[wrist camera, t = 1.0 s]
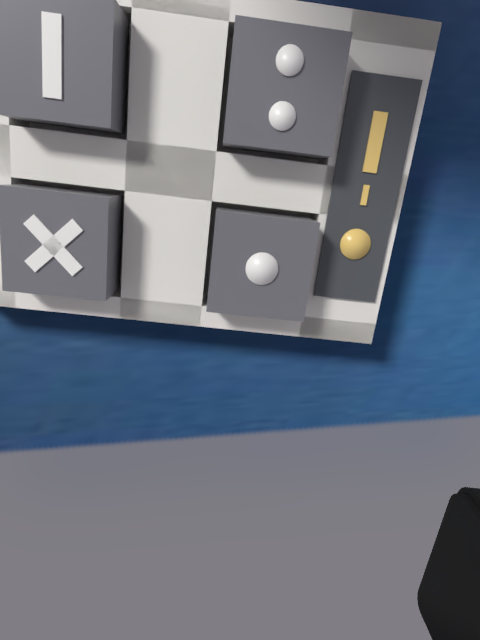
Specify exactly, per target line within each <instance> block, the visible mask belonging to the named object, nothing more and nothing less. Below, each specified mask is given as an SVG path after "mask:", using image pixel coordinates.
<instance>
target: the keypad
mask: <svg viewBox="0 0 480 640" xmlns="http://www.w3.org/2000/svg"><path fill="white" fill-rule="evenodd" d="M116 1H117V2H118V4H119V6H120V7H121V9H122V10H123V12H124V14H125V15H126V17H127V18H128V20H129V44H128V71H127V98H126V125H125V134H118V133H110V132H102V131H95V130H87V129H79V128H71V127H63V126H55V125H48V124H40V123H32V122H24V121H20V120H17V119H13V118H10V117H6V116H2V115H0V185H6V184H32V185H40V186H48V187H57V188H65V189H74V190H82V191H91V192H99V193H107V194H116V195H123V207H122V234H121V261H120V287H119V288H118V289H117V290H116V291H115V292H114V293H113V294H112V295H111V297H110V298H109V299H108V300H107V301H97V300H88V299H78V298H68V297H59V296H49V295H39V294H30V293H20V292H10V291H3V290H2V267H1V245H0V306H2V307H12V308H22V309H32V310H41V311H51V312H61V313H71V314H81V315H91V316H101V317H110V318H120V319H130V320H140V321H150V322H160V323H170V324H179V325H189V326H199V327H209V328H219V329H229V330H239V331H248V332H258V333H268V334H278V335H288V336H298V337H308V338H317V339H327V340H337V341H347V342H357V343H367V344H371V343H372V339H373V334H374V330H375V325H376V321H377V316H378V312H379V307H380V302H381V298H382V293H383V289H384V284H385V280H386V275H387V271H388V266H389V262H390V257H391V252H392V248H393V243H394V239H395V234H396V230H397V225H398V221H399V216H400V212H401V207H402V202H403V198H404V193H405V189H406V184H407V180H408V175H409V171H410V166H411V162H412V157H413V153H414V148H415V143H416V139H417V134H418V130H419V125H420V121H421V116H422V112H423V107H424V103H425V98H426V93H427V89H428V84H429V80H430V75H431V71H432V66H433V62H434V57H435V53H436V48H437V43H438V39H439V34H440V30H441V25H442V22H437V21H431V20H424V19H417V18H411V17H404V16H397V15H391V14H384V13H377V12H371V11H364V10H357V9H351V8H344V7H337V6H331V5H324V4H317V3H311V2H304V1H297V0H116ZM235 15H241V16H247V17H254V18H261V19H268V20H275V21H282V22H288V23H295V24H302V25H309V26H316V27H322V28H329V29H336V30H343V31H350V32H353V33H352V38H351V44H350V50H349V56H348V62H347V68H346V74H345V80H344V86H343V92H342V98H341V104H340V110H339V116H338V122H337V127H336V133H335V139H334V145H333V151H332V157H327V158H321V159H314V158H307V157H299V156H291V155H283V154H275V153H267V152H260V151H252V150H244V149H236V148H228V147H223V136H224V126H225V115H226V105H227V95H228V85H229V75H230V65H231V55H232V44H233V34H234V24H235ZM217 207H225V208H234V209H242V210H251V211H259V212H267V213H276V214H284V215H293V216H301V217H309V218H311V219H313V220H315V221H318V222H320V228H319V234H318V240H317V246H316V252H315V258H314V264H313V270H312V276H311V282H310V288H309V294H308V299H307V305H306V311H305V317H304V322H300V321H290V320H281V319H271V318H261V317H252V316H242V315H232V314H223V313H213V312H206V308H207V298H208V288H209V278H210V268H211V258H212V247H213V237H214V227H215V217H216V209H217Z"/></svg>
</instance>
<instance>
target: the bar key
mask: <svg viewBox="0 0 480 640" xmlns="http://www.w3.org/2000/svg"><path fill="white" fill-rule="evenodd" d="M128 44H129V20H128V18H127V17H126V15H125V14H124V12H123V10H122V9H121V7H120V6H119V4H118V2H117V1H116V0H0V115H2V116H6V117H10V118H13V119H17V120H20V121H24V122H32V123H40V124H48V125H55V126H63V127H71V128H79V129H87V130H95V131H102V132H110V133H118V134H125V125H126V98H127V71H128Z"/></svg>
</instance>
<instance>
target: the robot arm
mask: <svg viewBox="0 0 480 640" xmlns="http://www.w3.org/2000/svg"><path fill="white" fill-rule="evenodd" d="M418 606H419V610H420V612H421V615H422V617H423V619H424V622H425V624H426V626H427V628H428V630H429V633H430V635H431V637H432V639H433V640H480V489H478V488H468V487H464V488H461V489H460V490H459V492H458V493H457V494H453V495H452V496H451V498H450V500H449V503H448V506H447V509H446V512H445V514H444V518H443V520H442V523H441V526H440V529H439V532H438V535H437V538H436V541H435V544H434V546H433V549H432V553H431V555H430V558H429V561H428V564H427V567H426V570H425V572H424V575H423V578H422V581H421V584H420V587H419V590H418Z"/></svg>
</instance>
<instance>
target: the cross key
mask: <svg viewBox="0 0 480 640" xmlns="http://www.w3.org/2000/svg"><path fill="white" fill-rule="evenodd" d="M122 207H123V195H116V194H107V193H99V192H91V191H82V190H74V189H65V188H57V187H48V186H40V185H32V184H6V185H0V245H1V267H2V290H3V291H10V292H20V293H30V294H39V295H49V296H59V297H68V298H78V299H88V300H97V301H107V300H108V299H109V298H110V297H111V295H112V294H113V293H114V292H115V291H116V290H117V289H118V288H119V287H120V261H121V234H122Z"/></svg>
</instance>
